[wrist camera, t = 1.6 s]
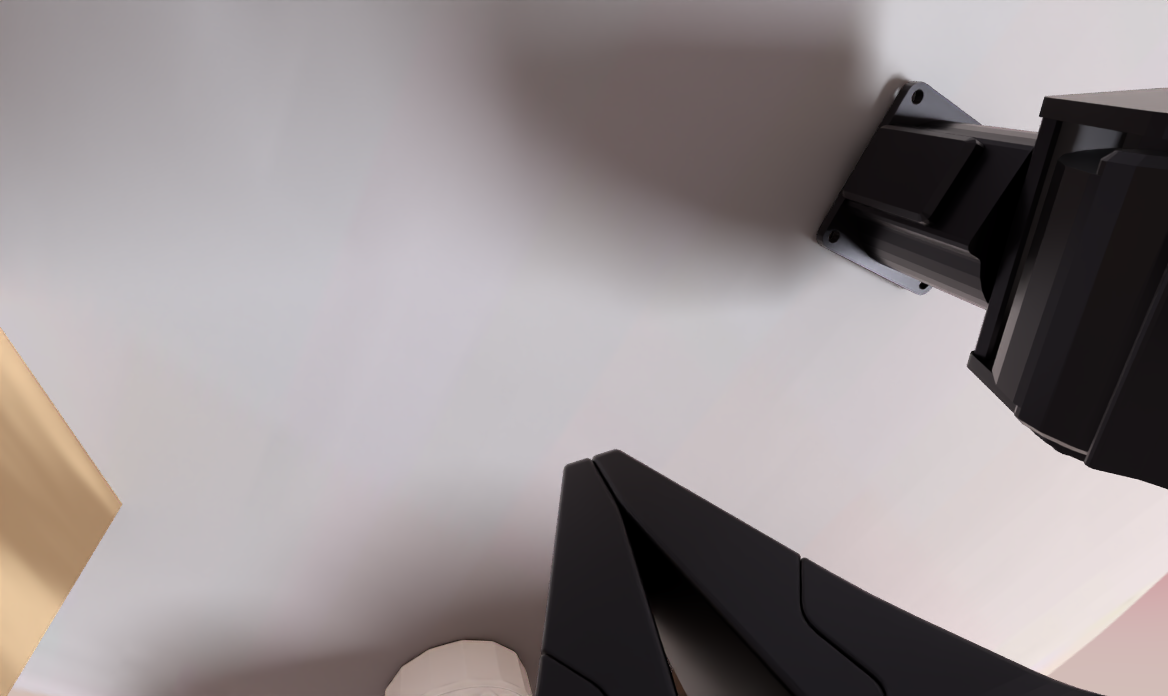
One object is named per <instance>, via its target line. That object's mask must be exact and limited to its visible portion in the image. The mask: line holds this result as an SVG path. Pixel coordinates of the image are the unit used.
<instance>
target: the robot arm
mask: <svg viewBox="0 0 1168 696" xmlns="http://www.w3.org/2000/svg"><path fill="white" fill-rule="evenodd" d="M914 92H915V95H916V96H915V98H914V100H913V101H912V95H913V93H914ZM1039 117H1043V118H1042V121H1041V125H1040V128H1039V132H1032V131H1024V130H1016V129H1008V128H1000V127H992V126H984V125H981V124H980V123H979V122H977V121H976V120H975V119H973V118H972V117H971V116H969V115H968V114H967V113H965V112H964V111H963V110H961V109H960V108H958V107H957V106H956V105H954V104H953V103H952V102H950V101H949V100H948V99H946V98H945V97H944V96H942V95H941V94H940V93H938V92H937V91H936V90H934V89H933V88H932V87H930V86H929V85H928V84H926V83H924V82H917V81H912V82H908V83H907V84H905V85H904V86H903V88H902V89H901V90H900V92H899V94H898V95H897V97H896V99H895V100H894V102H893V104H892V105H891V107H890V109H889V111H888V112H887V114H886V116H885V117H884V119H883V121H882V123H881V124H880V126H879V128H878V129H877V131H876V133H875V134H874V136H873V138H872V140H871V141H870V143H869V145H868V146H867V148H866V150H865V152H864V153H863V155H862V157H861V158H860V160H859V162H858V163H857V165H856V167H855V169H854V170H853V172H852V174H851V175H850V177H849V179H848V181H847V182H846V184H845V186H844V187H843V189H842V191H841V192H840V194H839V196H838V198H837V199H836V201H835V203H834V204H833V206H832V208H831V209H830V211H829V213H828V215H827V216H826V218H825V220H824V221H823V223H822V225H821V227H820V228H819V230H818V233H817V241H818V243H819V244H820V245H821V246H823V247H825V248H827V249H829V250H831V251H833V252H835V253H837V254H839V255H841V256H842V257H844V258H846V259H848V260H850V261H852V262H854V263H856V264H858V265H860V266H862V267H864V268H866V269H868V270H870V271H872V272H874V273H876V274H878V275H880V276H882V277H884V278H886V279H888V280H890V281H892V282H894V283H895V284H897V285H899V286H901V287H903V288H905V289H907V290H909V291H911V292H913V293H916V294H918V295H923V294H925V293H927V292H928V291H929V290H930V289H931V288H932V287H935V288H937V289H939V290H941V291H944V292H946V293H948V294H951V295H953V296H955V297H957V298H960V299H962V300H964V301H967V302H969V303H971V304H973V305H976V306H978V307H980V308H983V309H985V310H986V313H985V317H984V320H983V324H982V327H981V331H980V334H979V337H978V341H977V344H976V348H975V350H974V351H971V353H970V357H969V360H968V364H967V367H968V368H969V369H970V370H971V371H972V372H973V373H974V374H975V375H976V376H977V377H978V378H979V379H980V380H981V381H982V382H983V383H984V384H985V385H986V386H987V387H988V388H989V389H990V390H991V391H992V392H993V393H994V394H995V395H996V396H997V397H998V398H999V399H1000V400H1001V401H1002V402H1003V403H1004V404H1005V405H1006V406H1007V407H1008V408H1009V409H1010V410H1011V411H1012V412H1013V413H1014V415H1015V416H1016V418H1017V419H1018V420H1019V421H1020V422H1021V423H1022V424H1023V425H1025V426H1027V427H1028V428H1030V429H1031V430H1032V431H1033V432H1034V433H1035V434H1036V435H1037V436H1038V437H1040V438H1041V439H1042V440H1043V441H1044V442H1046V443H1047V444H1049V445H1051V446H1052V447H1053V448H1054V449H1055V450H1056V451H1058V452H1060V453H1062V454H1065V455H1068V456H1071V457H1074V458H1076V459H1078V460H1080V461H1083V462H1084V463H1085V465H1087V466H1088V467H1090V468H1092V469H1096V470H1100V471H1104V472H1108V473H1113V474H1117V475H1121V476H1126V477H1130V478H1134V479H1138V480H1142V481H1145V482H1148V483H1151V484H1154V485H1157V486H1160V487H1163V488H1166V489H1168V88H1155V89H1141V90H1127V91H1113V92H1098V93H1084V94H1070V95H1056V96H1045V97H1044V100H1043V104H1042V107H1041V111H1040V114H1039ZM832 231H834V234H833V236H832V237H831V239H829V238H828V237H829V235H830V233H831V232H832ZM920 282H921V283H920ZM541 654H542V656H541V657H540V661H539V669H538V677H537V685H536V691H535V696H679V695H678V692H677V689H676V686H675V683H674V679H673V676H672V673H671V670H670V667H669V663H668V660H669V662H670V664H671V666H672V667H673V669H674V671H675V673H676V675H677V677H678V679H679V681H680V682H681V684H682V686H683V688H684V690H685V692H686V694H687V696H1105V695H1101V694H1097V693H1094V692H1090V691H1087V690H1083V689H1080V688H1076V687H1074V686H1071V685H1068V684H1065V683H1062V682H1060V681H1057V680H1054V679H1052V678H1050V677H1047V676H1045V675H1043V674H1040V673H1038V672H1036V671H1033V670H1031V669H1029V668H1027V667H1025V666H1022V665H1020V664H1018V663H1016V662H1014V661H1012V660H1010V659H1007V658H1005V657H1003V656H1001V655H999V654H997V653H994V652H992V651H990V650H988V649H986V648H984V647H981V646H979V645H977V644H975V643H973V642H971V641H969V640H966V639H964V638H962V637H960V636H958V635H956V634H953V633H951V632H949V631H947V630H945V629H943V628H941V627H938V626H936V625H934V624H932V623H930V622H928V621H925V620H923V619H921V618H919V617H917V616H915V615H913V614H911V613H909V612H907V611H905V610H902V609H900V608H898V607H896V606H894V605H892V604H890V603H888V602H886V601H884V600H882V599H880V598H878V597H876V596H874V595H872V594H870V593H868V592H866V591H864V590H862V589H861V588H859V587H857V586H855V585H853V584H851V583H850V582H848V581H846V580H844V579H842V578H841V577H839V576H837V575H835V574H833V573H831V572H830V571H828V570H826V569H824V568H823V567H821V566H819V565H818V564H816V563H814V562H812V561H811V560H809V559H807V558H802V559H801V556H800V555H799V554H798V553H796V552H795V551H793V550H791V549H789V548H788V547H786V546H784V545H783V544H781V543H779V542H777V541H776V540H774V539H772V538H771V537H769V536H767V535H765V534H764V533H762V532H760V531H758V530H757V529H755V528H753V527H752V526H750V525H748V524H746V523H745V522H743V521H741V520H740V519H738V518H736V517H734V516H733V515H731V514H729V513H727V512H726V511H724V510H722V509H721V508H719V507H717V506H715V505H714V504H712V503H710V502H709V501H707V500H705V499H703V498H702V497H700V496H698V495H696V494H695V493H693V492H691V491H690V490H688V489H686V488H684V487H683V486H681V485H679V484H678V483H676V482H674V481H672V480H671V479H669V478H667V477H665V476H664V475H662V474H660V473H659V472H657V471H655V470H653V469H652V468H650V467H648V466H647V465H645V464H643V463H641V462H640V461H638V460H636V459H634V458H633V457H631V456H629V455H628V454H626V453H624V452H622V451H621V450H618V449H614V450H611V451H607V452H604V453H601V454H598V455H595V456H594V457H593V459H592V460H591V459H588V458H586V459H582V460H579V461H576V462H573V463H570V464H567V465H566V466H565V467H564V471H563V479H562V487H561V495H560V503H559V511H558V519H557V527H556V535H555V543H554V551H553V559H552V567H551V575H550V583H549V591H548V599H547V607H546V615H545V623H544V631H543V640H542V648H541ZM666 656H667V657H666ZM667 658H668V660H667Z"/></svg>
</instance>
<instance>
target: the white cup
mask: <svg viewBox="0 0 1168 696" xmlns="http://www.w3.org/2000/svg"><path fill="white" fill-rule="evenodd" d="M385 696H532V692H531V688H530V684H529V680H528V676H527V673H526V670H525V668H524V666H523V665H522V663H521V661H520V659H519V658H518V656H517V654H516V653H515V652H514V651H512V650H510V649H508V648H506V647H504V646H502V645H500V644H498V643H495V642H493V641H477V640H460V641H457V642H453V643H449V644H445V645H442V646H438V647H435V648H431V649H429V650H427V651H426V652H424V653H423V654H421V655H419V656H418V657H416V658H415V659H413V660H412V661H410V662H408V663H407V664H405V665H404V666H402V667H401V669H400V670H399V672H398V673H397V674H396V676H395V677H394V679H393V680H392V681H391V683H390V684H389V686H388V687H387V688H386V690H385Z"/></svg>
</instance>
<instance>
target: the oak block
mask: <svg viewBox="0 0 1168 696" xmlns="http://www.w3.org/2000/svg"><path fill="white" fill-rule="evenodd" d="M121 506H122V503H121V502H120V500H119V499H118V497H117V496H116V494H115V493H114V491H113V490H112V489H111V487H110V486H109V484H108V483H107V481H106V480H105V478H104V477H103V475H102V474H101V473H100V471H99V470H98V468H97V467H96V465H95V464H94V462H93V461H92V460H91V458H90V457H89V455H88V454H87V452H86V451H85V449H84V448H83V446H82V445H81V444H80V442H79V441H78V439H77V438H76V436H75V435H74V433H73V432H72V430H71V429H70V428H69V426H68V425H67V423H66V422H65V420H64V419H63V417H62V416H61V415H60V413H59V412H58V410H57V409H56V407H55V406H54V404H53V403H52V401H51V400H50V399H49V397H48V396H47V394H46V393H45V391H44V390H43V388H42V387H41V385H40V384H39V383H38V381H37V380H36V378H35V377H34V375H33V374H32V372H31V371H30V370H29V368H28V367H27V365H26V364H25V362H24V361H23V359H22V358H21V356H20V355H19V354H18V352H17V351H16V349H15V348H14V346H13V345H12V343H11V342H10V341H9V339H8V338H7V336H6V335H5V333H4V332H3V330H2V329H1V327H0V696H7V695H8V693H9V692H10V690H11V689H12V687H13V685H14V684H15V682H16V680H17V679H18V677H19V675H20V674H21V672H22V670H23V669H24V667H25V665H26V664H27V662H28V660H29V659H30V657H31V655H32V654H33V652H34V650H35V649H36V647H37V645H38V644H39V642H40V640H41V639H42V637H43V635H44V634H45V632H46V630H47V629H48V627H49V625H50V624H51V622H52V620H53V619H54V617H55V615H56V614H57V612H58V610H59V609H60V607H61V605H62V604H63V602H64V600H65V599H66V597H67V595H68V594H69V592H70V590H71V589H72V587H73V586H74V584H75V582H76V581H77V579H78V577H79V576H80V574H81V572H82V571H83V569H84V567H85V566H86V564H87V562H88V561H89V559H90V557H91V556H92V554H93V552H94V551H95V549H96V547H97V546H98V544H99V542H100V541H101V539H102V537H103V536H104V534H105V532H106V531H107V529H108V527H109V526H110V524H111V522H112V521H113V519H114V517H115V516H116V514H117V512H118V511H119V509H120V507H121Z"/></svg>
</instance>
